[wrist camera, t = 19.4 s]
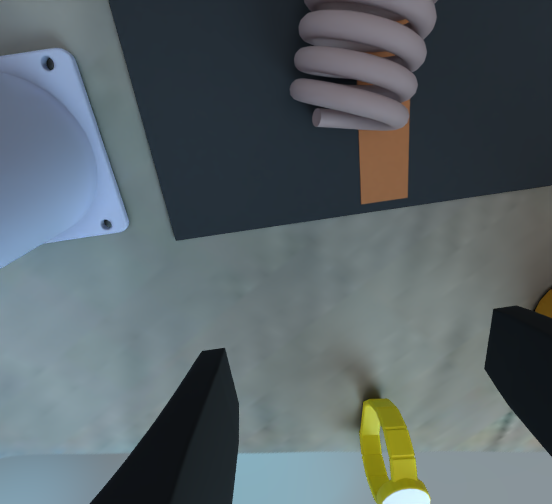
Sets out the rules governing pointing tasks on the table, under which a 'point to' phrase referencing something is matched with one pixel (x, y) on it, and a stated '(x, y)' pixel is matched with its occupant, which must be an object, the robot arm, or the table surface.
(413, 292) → the table surface
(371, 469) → the watch
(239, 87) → the mat
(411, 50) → the coil
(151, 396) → the table surface
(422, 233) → the table surface
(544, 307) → the flashlight
